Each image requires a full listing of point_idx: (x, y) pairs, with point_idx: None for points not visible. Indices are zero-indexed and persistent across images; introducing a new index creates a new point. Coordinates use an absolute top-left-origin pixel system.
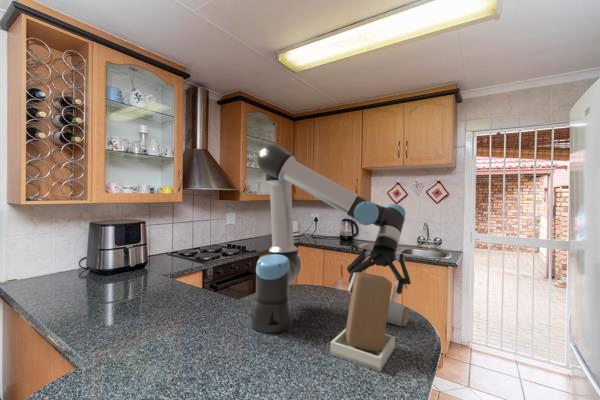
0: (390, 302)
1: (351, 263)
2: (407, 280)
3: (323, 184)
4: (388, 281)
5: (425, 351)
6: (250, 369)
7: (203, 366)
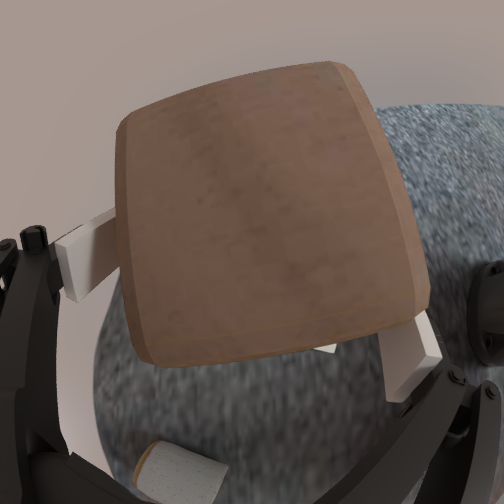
0: (189, 500)
1: (497, 437)
2: (14, 240)
3: None
4: (134, 113)
5: (119, 319)
6: (439, 146)
7: (479, 145)
